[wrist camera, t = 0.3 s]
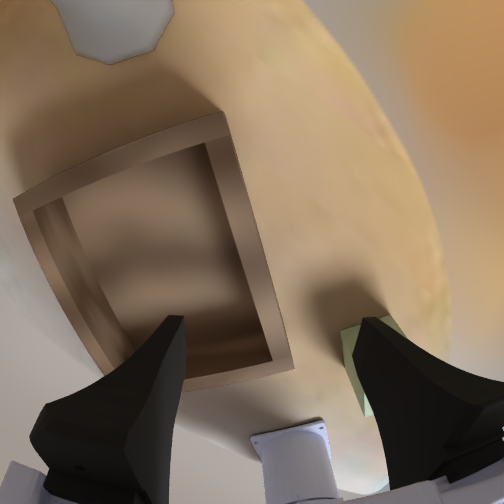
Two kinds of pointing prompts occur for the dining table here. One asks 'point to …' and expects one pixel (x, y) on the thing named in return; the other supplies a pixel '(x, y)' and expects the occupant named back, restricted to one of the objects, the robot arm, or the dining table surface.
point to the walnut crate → (161, 254)
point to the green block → (348, 346)
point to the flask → (114, 26)
